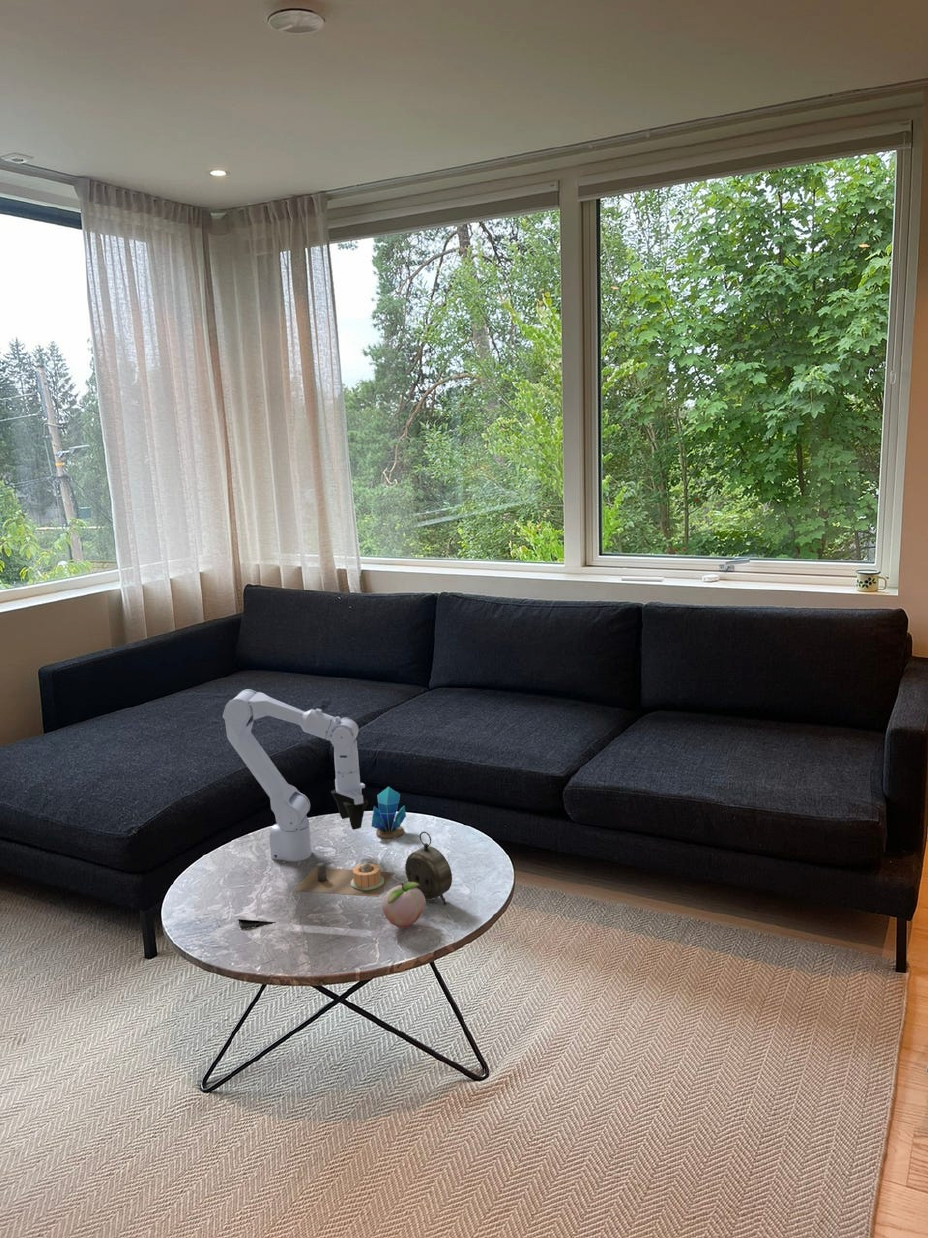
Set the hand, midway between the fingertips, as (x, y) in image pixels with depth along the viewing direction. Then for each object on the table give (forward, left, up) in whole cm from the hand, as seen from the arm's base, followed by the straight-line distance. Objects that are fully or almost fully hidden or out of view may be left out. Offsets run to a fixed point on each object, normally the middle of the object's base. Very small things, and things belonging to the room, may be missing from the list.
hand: (351, 823), depth 230 cm
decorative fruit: (+22, -30, -10) cm, 38 cm away
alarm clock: (+24, -18, -10) cm, 31 cm away
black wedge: (-13, -28, -10) cm, 32 cm away
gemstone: (+4, +16, -10) cm, 19 cm away
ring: (+9, -14, -8) cm, 18 cm away
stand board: (+3, -14, -9) cm, 17 cm away
